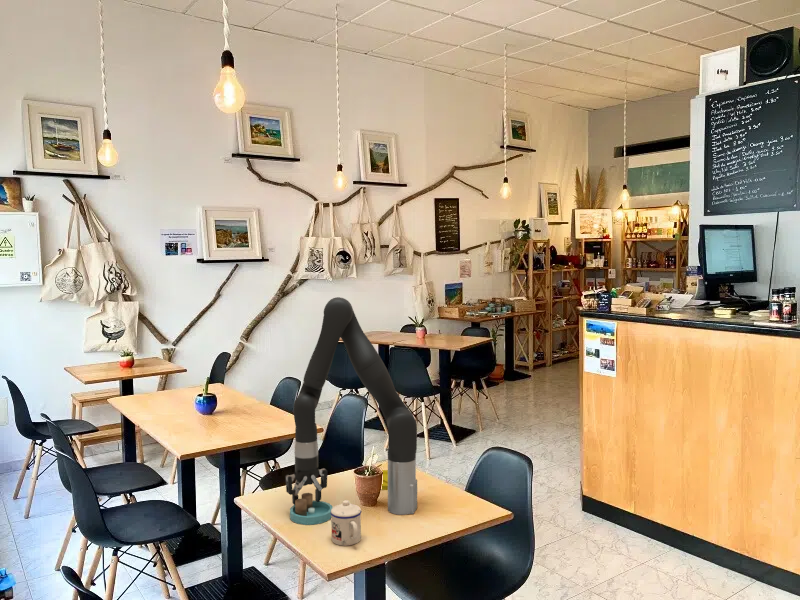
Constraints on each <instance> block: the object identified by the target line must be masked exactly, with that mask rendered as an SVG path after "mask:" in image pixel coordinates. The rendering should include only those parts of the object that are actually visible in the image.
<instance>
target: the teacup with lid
mask: <svg viewBox="0 0 800 600" xmlns="http://www.w3.org/2000/svg"><path fill="white" fill-rule="evenodd" d="M362 511H363V510H362V509H361V507H360V506H359V505H357V504H353V503H351V502H350V500H348V499H345V500H343V501H342V502H341V503H340V504H336V505H334V506H333V508H332V509H331V519H330V520H331V521H330V522H331V541H332V543H333V544H335V545H338V546H344V547H345V546H353V545H356V544H357V543H359V542H360V541H361V540H362V535H361V534H362V530H361V529H362V525H361V523H362V522H361V520H362V517H361V515H362Z"/></svg>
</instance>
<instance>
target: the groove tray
mask: <svg viewBox="0 0 800 600" xmlns="http://www.w3.org/2000/svg"><path fill="white" fill-rule="evenodd" d="M333 507H334V506H333V505H332V504H331V503H330V502H326V501H323V500H320V502H317V501H316V500H313V508H308V512H307V516H300V515H297V514H295V505H294V504H292V506H291V507H290V508H289V519H290V521H291V522H293V523H295V524H298V525H303V526H304V525H305V526H314V525H319V524H324V523H326V522H328V521H330V520H331V509H332V508H333Z"/></svg>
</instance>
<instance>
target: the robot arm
mask: <svg viewBox="0 0 800 600" xmlns="http://www.w3.org/2000/svg"><path fill="white" fill-rule="evenodd" d="M353 308H354V307H353V306H352V304H351V303H350V301H349V300H347V299H346V298H344V297H339V296H338V297H333V298H331V299H329V300H328V301H327V303H326V304H325V306H324V309H323V317H322V318H323V319H322V325H321V329H320V334H319V336H318V340H317V343H316V345H315V347H314V349H313V352H312V354H311V356H310V359H309V362H308V364H307V367H306V370H305V373H304V376H303V382H302V385H301V387H300V391H299V393H298V396H297V397H296V398H295V400H294V403H293V418H294V425H295V430H294V432H295V434H294V435H295V437H294V438H295V442H294V453H293V454H294V473H293V474H290V475H289V474H286V475H285V490H286V491H285V492H286V493H287V494H289V495H290V496H291V498H292V499H291V500H292V505H295V500H297V499H299V493H300V490H302V488H303V487H305V486H308V485H314V487H315V489H314V494H315V495H314V499H315V500H314V501H317V502H320V501H322V490H323V489H325V488H327V487H328V470H327V469H326V468H324V467H323V468H321V469H319V444H318V427H317V423H316V409H317V407H318V404H319V401H320V399H321V395H322V391H323V388H324V386H325V383H326V382H327V378H328V375H329V372H330V370H331V366H332V363H333V360H334V356H335V352H336V349H337V346H338V344H339V341H340V339H341V341H342V342H343V344H344V347H345V350H346V352H347V355H348V358H349V360H350V362H351V365H352V367H353V369H354V372H355V373H356V375H357V376H358V378H359V379H360V381H361V383H362V385H363V386H364V387H365V388H366V390H367V391H368V393H369V394H370V395H371V396H372V397H373V400H375V402H376V403H377V404H378V406H379V408H380V410H381V413H382V416H383V417H384V419H385V422H386V427H387V429H388V430H387V431H388V435H387V436H388V449H387V470H388V490H387V510H388V512H389V513H391V514H394V515H397V516H398V515H401V516H402V515H403V516H405V515H414V514H415V512H416V510H417V508H418V479H417V478H416V477H417V475H416V473H417V471H416V470H417V468H416V465H417V460H416V459H417V448H418V445H417V443H418V427H417V426H418V425H417V424H418V423H417V420H416V419H415V417H414V414H413V413H412V411H410V409H409V407H408V406H407V405H406V404H405V403H404V401H403V399H402V398H401V397H400V395H399V393H398V392H397V390H396V388H395V386H394V383H393V380H392V377H391V376H390V373H389V371H388V369H387V367H386V365H385V363H384V361H383V360H382V358H381V355H380V354H379V352H378V351H377V350H376V348H375V346H374V345H373V343H372V342H371V341H370V339H369V338H368V337H367V335H366V334H365V332H364V331H363V329H362V327H361V325H360V323H359V321H358V318H357V316H356V313H355V311H354V309H353ZM319 475H320V482H319V481H318V479H317V478H318V477H319ZM294 480H295V482H294ZM293 482H294V484H293Z"/></svg>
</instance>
